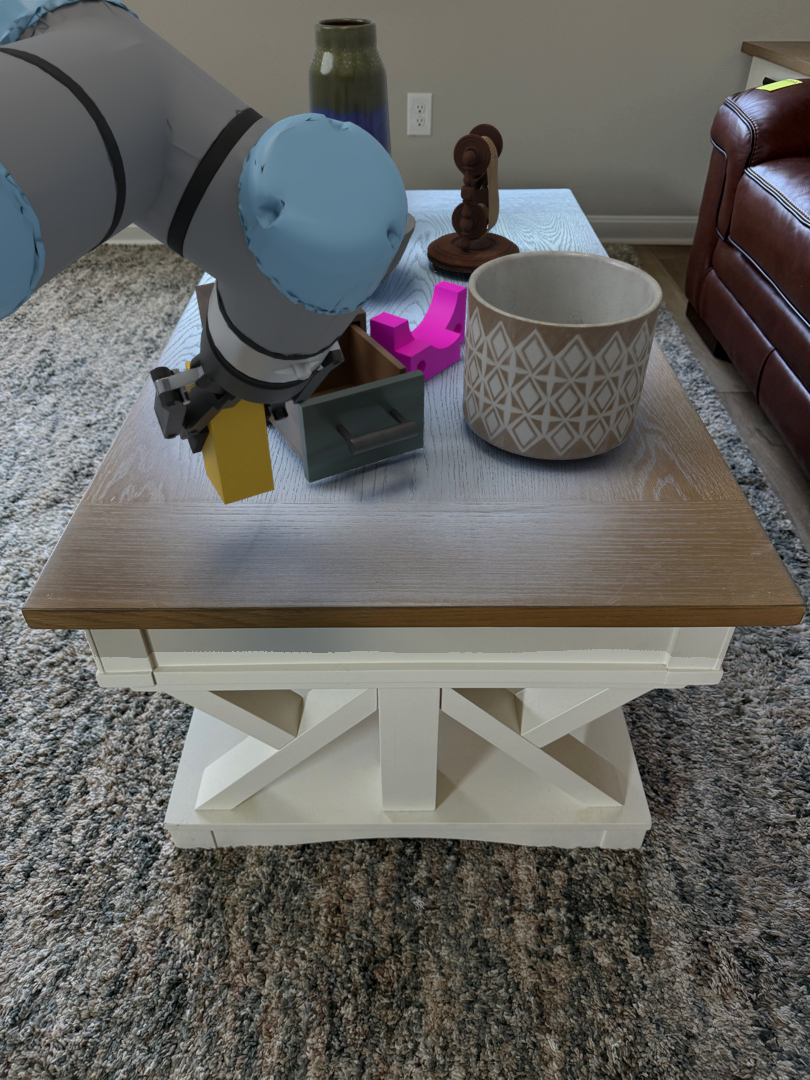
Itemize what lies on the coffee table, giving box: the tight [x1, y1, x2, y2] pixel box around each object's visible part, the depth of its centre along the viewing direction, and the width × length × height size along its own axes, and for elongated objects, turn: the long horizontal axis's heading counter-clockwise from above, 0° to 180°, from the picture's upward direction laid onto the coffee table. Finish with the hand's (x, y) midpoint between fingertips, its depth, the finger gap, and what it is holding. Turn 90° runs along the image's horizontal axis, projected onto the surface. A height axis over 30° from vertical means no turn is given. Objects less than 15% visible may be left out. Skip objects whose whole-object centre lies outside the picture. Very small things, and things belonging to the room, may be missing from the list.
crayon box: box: [184, 360, 275, 505], centre depth 65 cm, size 4×5×11 cm
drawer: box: [269, 322, 426, 484], centre depth 83 cm, size 20×13×9 cm
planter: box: [461, 250, 664, 461], centre depth 85 cm, size 19×19×16 cm
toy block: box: [369, 280, 468, 382], centre depth 99 cm, size 15×6×8 cm, turn 142°
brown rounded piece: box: [426, 123, 521, 274], centre depth 121 cm, size 15×15×20 cm
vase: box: [308, 17, 393, 159], centre depth 129 cm, size 14×14×31 cm
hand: (220, 430), depth 69 cm, fingers closed on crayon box, 4 cm apart
